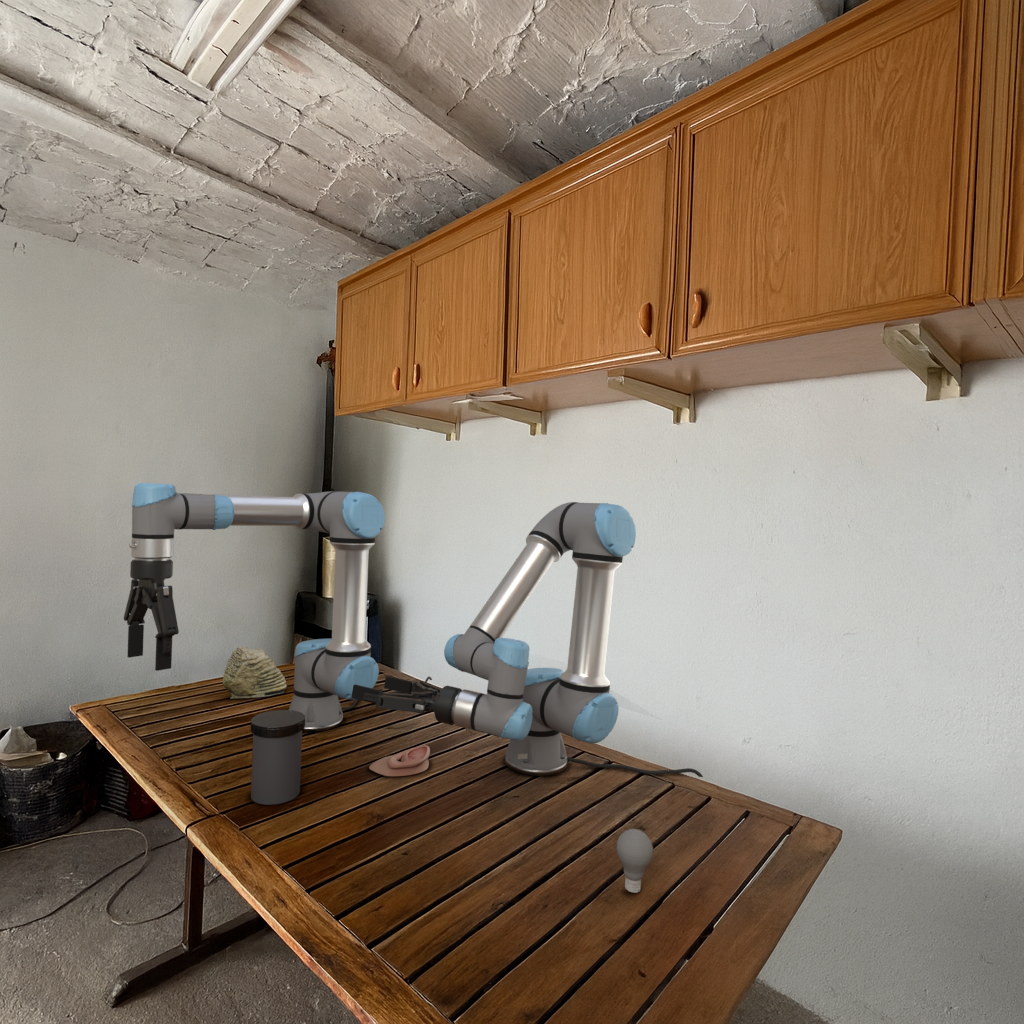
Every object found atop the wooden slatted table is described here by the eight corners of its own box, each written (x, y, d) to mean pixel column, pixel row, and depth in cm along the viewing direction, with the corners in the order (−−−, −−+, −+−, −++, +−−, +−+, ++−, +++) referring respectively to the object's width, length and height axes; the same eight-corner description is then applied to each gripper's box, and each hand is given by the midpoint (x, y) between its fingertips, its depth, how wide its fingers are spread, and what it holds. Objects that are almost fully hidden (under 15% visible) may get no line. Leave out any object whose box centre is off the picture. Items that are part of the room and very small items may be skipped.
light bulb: (610, 879, 108) (613, 822, 108) (644, 879, 109) (647, 822, 109) (619, 902, 102) (622, 840, 102) (655, 901, 103) (658, 840, 103)
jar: (242, 803, 130) (245, 727, 129) (262, 782, 139) (265, 711, 139) (289, 806, 129) (292, 729, 129) (306, 784, 139) (309, 713, 139)
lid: (241, 736, 129) (241, 726, 129) (263, 718, 140) (263, 708, 140) (293, 739, 128) (294, 728, 128) (312, 720, 139) (312, 711, 139)
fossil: (218, 695, 195) (220, 647, 195) (278, 685, 208) (279, 640, 207) (228, 703, 189) (230, 653, 188) (289, 692, 201) (290, 645, 201)
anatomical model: (363, 756, 145) (383, 738, 157) (363, 773, 146) (383, 754, 157) (418, 763, 143) (435, 744, 154) (418, 780, 143) (434, 760, 154)
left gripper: (108, 554, 134) (104, 654, 134) (159, 565, 118) (155, 678, 119) (146, 552, 140) (143, 648, 140) (199, 563, 124) (195, 671, 124)
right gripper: (429, 738, 120) (334, 714, 127) (477, 714, 144) (395, 694, 150) (435, 698, 121) (341, 676, 127) (482, 680, 144) (400, 662, 151)
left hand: (148, 662), depth 129 cm, fingers open, 13 cm apart
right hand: (370, 686), depth 139 cm, fingers open, 13 cm apart
